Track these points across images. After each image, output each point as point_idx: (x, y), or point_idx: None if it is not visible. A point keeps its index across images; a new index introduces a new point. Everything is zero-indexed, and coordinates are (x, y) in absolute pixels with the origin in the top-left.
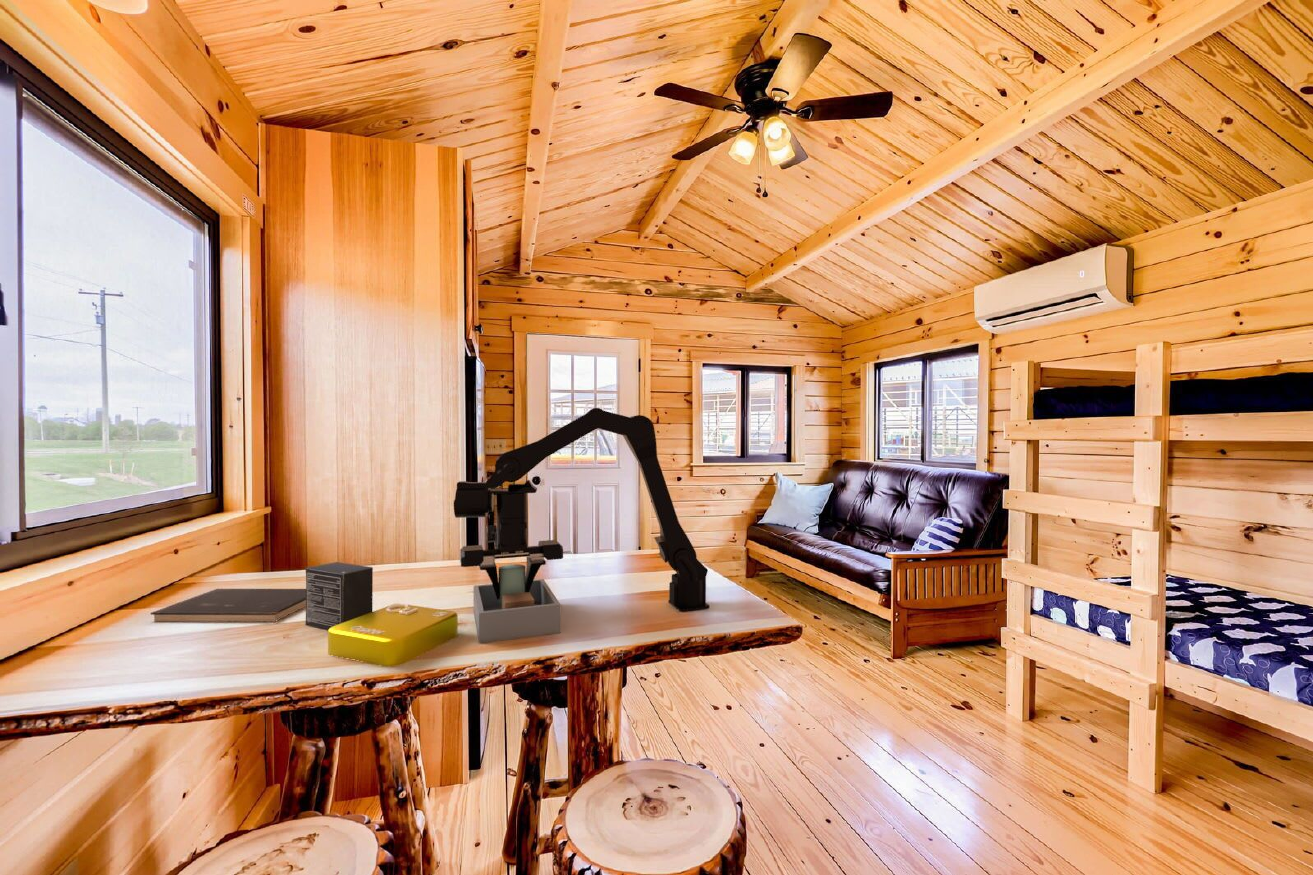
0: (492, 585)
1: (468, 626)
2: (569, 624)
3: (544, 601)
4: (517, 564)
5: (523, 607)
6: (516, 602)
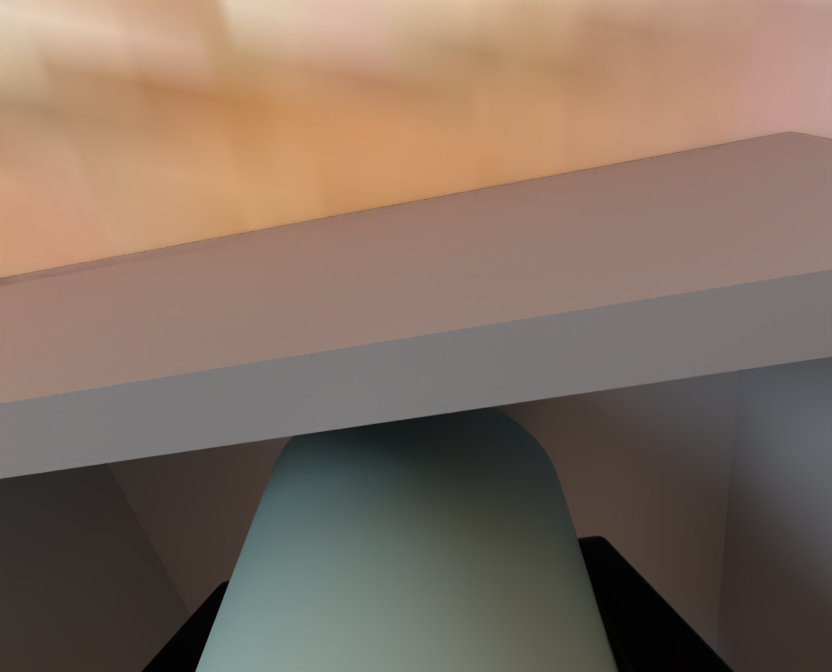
0: (2, 467)
1: None
2: None
3: (779, 523)
4: None
5: None
6: None
